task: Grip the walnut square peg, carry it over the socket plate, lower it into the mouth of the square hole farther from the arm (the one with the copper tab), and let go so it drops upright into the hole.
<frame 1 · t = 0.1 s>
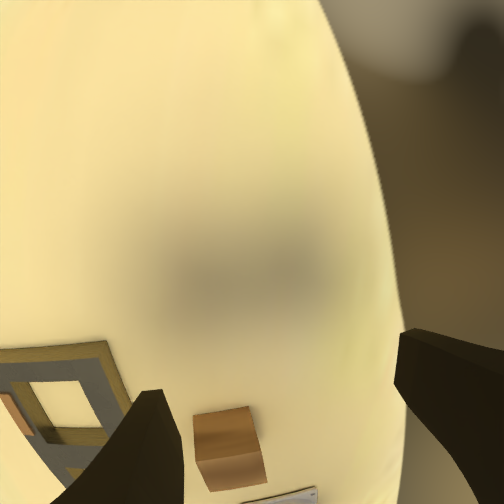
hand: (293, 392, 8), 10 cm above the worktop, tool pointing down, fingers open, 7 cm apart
socket plate: (91, 440, 19), on the worktop
square peg: (225, 428, 20), on the worktop
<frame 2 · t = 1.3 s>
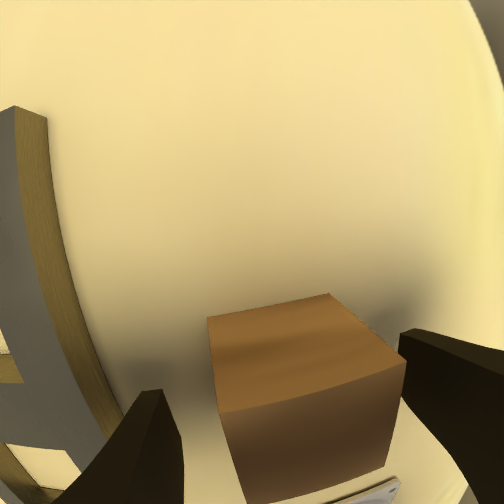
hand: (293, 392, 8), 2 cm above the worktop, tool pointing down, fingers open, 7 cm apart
socket plate: (7, 386, 9), on the worktop
square peg: (275, 357, 10), on the worktop
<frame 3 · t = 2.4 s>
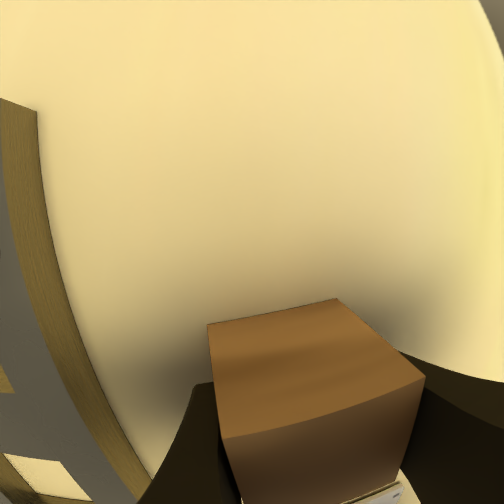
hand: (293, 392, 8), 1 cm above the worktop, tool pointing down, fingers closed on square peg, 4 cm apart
socket plate: (0, 393, 8), on the worktop
square peg: (280, 366, 10), on the worktop, touching gripper
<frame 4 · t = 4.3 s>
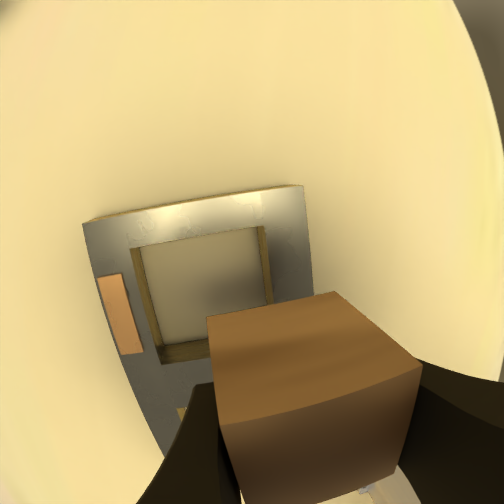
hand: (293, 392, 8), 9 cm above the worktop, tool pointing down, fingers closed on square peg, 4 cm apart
socket plate: (221, 359, 17), on the worktop
square peg: (279, 359, 10), point 7 cm above the worktop, touching gripper
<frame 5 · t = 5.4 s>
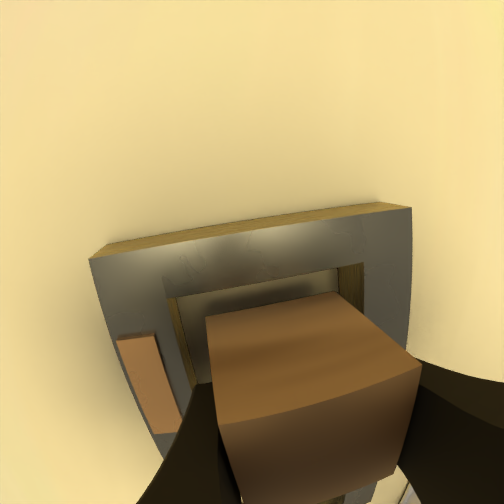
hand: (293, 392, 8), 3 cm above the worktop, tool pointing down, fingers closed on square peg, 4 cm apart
socket plate: (277, 419, 13), on the worktop
square peg: (278, 359, 10), point 2 cm above the worktop, touching gripper
when the fingers open (3 cm above the worktop, at t = 6.3 s): square peg drops 1 cm, resting in socket plate.
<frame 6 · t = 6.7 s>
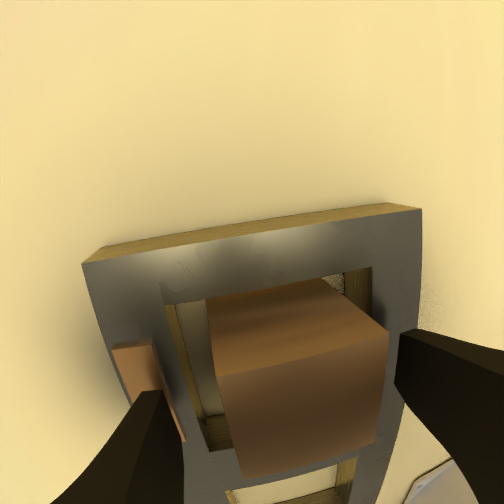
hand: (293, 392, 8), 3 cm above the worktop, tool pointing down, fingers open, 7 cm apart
socket plate: (280, 426, 12), on the worktop
square peg: (270, 338, 11), resting in socket plate
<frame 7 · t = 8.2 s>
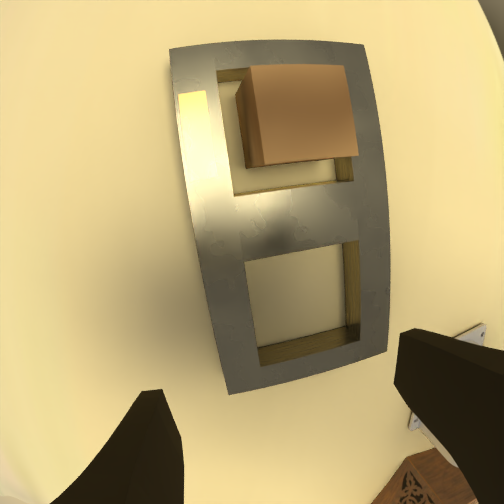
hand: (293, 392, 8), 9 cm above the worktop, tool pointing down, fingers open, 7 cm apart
tissue box cover: (400, 499, 29), on the worktop
socket plate: (289, 214, 16), on the worktop
square peg: (277, 127, 15), resting in socket plate
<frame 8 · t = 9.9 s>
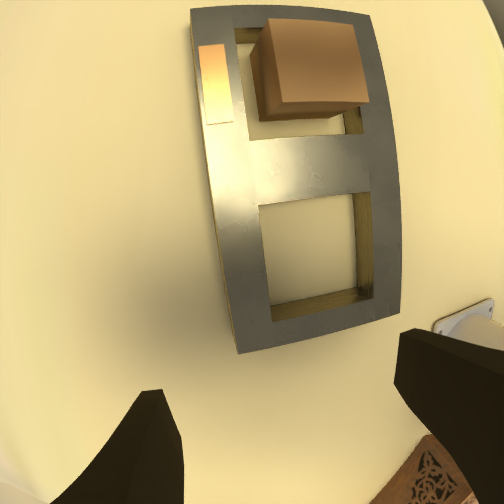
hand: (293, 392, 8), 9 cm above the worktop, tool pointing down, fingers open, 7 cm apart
tissue box cover: (406, 490, 29), on the worktop
socket plate: (301, 167, 16), on the worktop
square peg: (290, 85, 15), resting in socket plate
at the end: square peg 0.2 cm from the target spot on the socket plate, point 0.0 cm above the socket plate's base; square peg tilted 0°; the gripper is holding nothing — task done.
